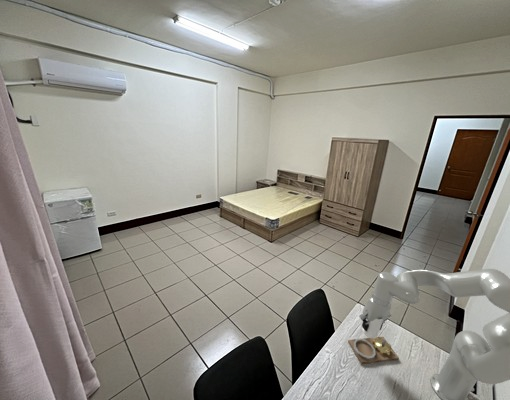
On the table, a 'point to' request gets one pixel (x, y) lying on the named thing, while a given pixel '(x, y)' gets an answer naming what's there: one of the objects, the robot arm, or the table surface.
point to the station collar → (361, 353)
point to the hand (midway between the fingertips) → (371, 327)
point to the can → (373, 328)
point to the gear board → (371, 352)
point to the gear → (382, 346)
